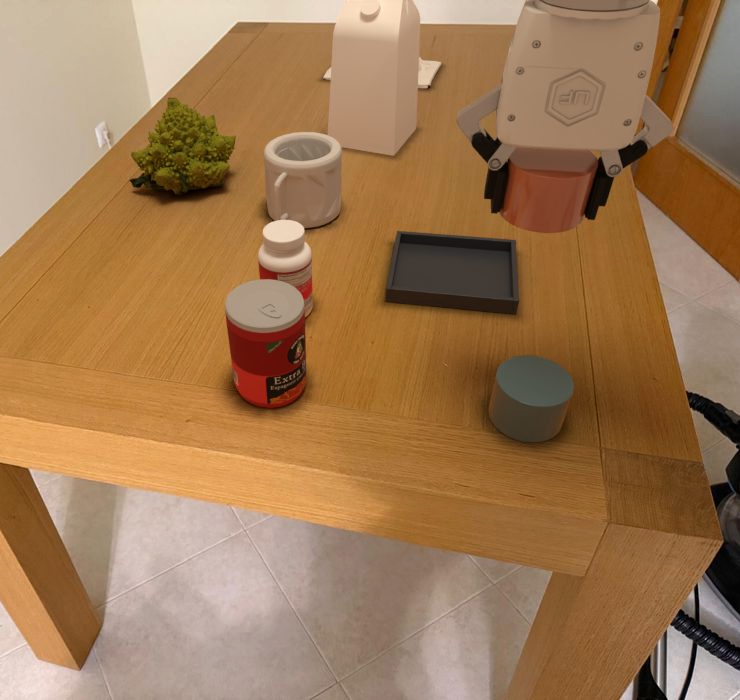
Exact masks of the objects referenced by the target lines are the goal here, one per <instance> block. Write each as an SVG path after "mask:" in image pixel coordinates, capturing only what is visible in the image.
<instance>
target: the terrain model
mask: <svg viewBox="0 0 740 700" xmlns="http://www.w3.org/2000/svg"><path fill="white" fill-rule="evenodd" d="M441 66H442V61H436V60H424V59H422V57H421V56H420V55H419V72H418V89H428V88H429V86H431V85H432V82H433V79H434V78H435V76H436V75H437V73H438V71H439V69H440V67H441ZM322 79H324V80H325V81H331V66H330V67H329V68H328V69H327V70H326V71H325V74H323V77H322Z"/></svg>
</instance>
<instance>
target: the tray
mask: <svg viewBox="0 0 740 700" xmlns="http://www.w3.org/2000/svg"><path fill="white" fill-rule="evenodd" d="M518 274H519V273H518V257H517V239H511V238H510V239H509V238H498V237H497V238H496V237H484V236H482V237H481V236H472V235H458V234H457V235H455V234H445V233H444V234H443V233H432V232H419V231H418V232H416V231H405V230H397V231H396V235H395V240H394V245H393V251H392V254H391V261H390V265H389V271H388V277H387V282H386V287H385V299H384V301H385V302H386V303H387V302H388V303H397V304H405V305H406V304H407V305H415V306H416V305H417V306H427V307H436V308H437V307H438V308H447V309H448V308H449V309H457V310H458V309H459V310H467V311H468V310H469V311H477V312H489V313H498V314H508V315H516V314H517V311H518V308H519V303H520V296H519V295H520V294H519V293H520V292H519V275H518Z"/></svg>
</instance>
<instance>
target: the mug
mask: <svg viewBox="0 0 740 700" xmlns="http://www.w3.org/2000/svg"><path fill="white" fill-rule="evenodd" d="M342 160H343V147H341V145H340V144H339V142H338V141H337V140H336V139H334V138H333V137H331V136H328V134H324V133H321V132H313V131H300V132H299V131H297V132H290V133H286V134H281V135H279V136H277V137H275V138H273V139H272V140H269V142H268V143H267V144H266V145H265V147H264V149H263V162H264V163H263V164H264V177H265V192H266V206H267V207H266V208H267V213H268V215H269V217H270V218H271V219H272V220H273V221H277V220H292V221H296V222H298V223H300V224H301V225H302V226H303V227H304V229H311V228H312V229H313V228H318V227H321V226H324V225H327V224H328V223H331V222H332V221H333V220H334V219H336V218H337V217H338V216H339V214H340V213H341V208H342V163H343V162H342Z"/></svg>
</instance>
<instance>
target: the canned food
mask: <svg viewBox="0 0 740 700" xmlns="http://www.w3.org/2000/svg"><path fill="white" fill-rule="evenodd" d="M224 313H225V324H226V329H227V330H226V331H227V337H228V345H229V351H230V360H231V367H232V376H233V382H234V383H233V384H234V386H235V388H236V390H237V392H238V393H239V395H240V396H241V397H242V399H244V400H245V401H246V402H248V403H249V404H252V405H254V406H257V407H261V408H272V409H273V408H280V407H283V406H287V405H290V404H291V403H293V402H294V401H296V400H297V399H298V398H299V397H300V396H301V395H302V393H303V391H304V390H305V387H306V385H307V345H306V344H307V342H306V341H307V340H306V317H305V305H304V299H303V297H302V295H301V293H300V292H299V291H298V290H297V289H296V288H295V287H293V286H292V285H290V284H288V283H285V282H282V281H278V280H271V279H261V280H260V279H253V280H249V281H246V282H243V283H241V284H240V285H238V286H236V287H234V288H233V289H232V290H231V291H230V292H228V294H227V296H226V297H225V303H224Z"/></svg>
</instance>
